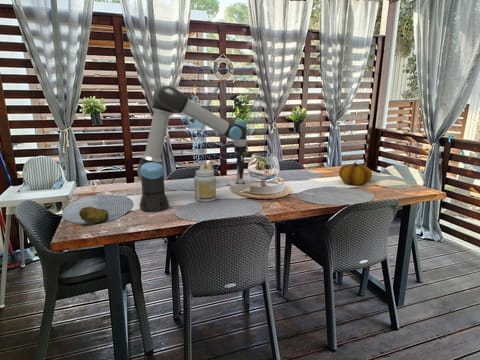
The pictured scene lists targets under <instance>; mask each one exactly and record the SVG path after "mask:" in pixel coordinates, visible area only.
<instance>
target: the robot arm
mask: <svg viewBox="0 0 480 360" xmlns="http://www.w3.org/2000/svg"><path fill="white" fill-rule="evenodd" d="M152 95H153V96H152V97H153V102H152V107H151V109H152V111H153V116H152V120H151V125H150V129H149V133H148V138H147V143H146V145H145V146H146V147H145V150H144V155H141V157H140V159H139V160H140V161H139V164H138V165H137V170H136V172H137V176H138V178H139V179H140V183H141V198H140V202H139V209H140V210H141V211H142V212H149V213H152V212H154V213H155V212H161V211H164V210H167V209H169V207H170V204H169V200H168V198H167V195H166V192H165V191H166V190H165V176H164V175H165V170H164V166H163V165H162V164H163V160H162V158H161V155H162V152H163V147H164V142H165V137H166V134H167V128H168V125H169V121H170V118H171V116H173V115H174V112H176V113H178V114H184V115H186V116H188V117H190V118H191V119H193V120H195V121H197V122H198V123H200V124H202V125H204V126H206V127H208V128H210V129H212V130H214V133H215V136H216V137H217V138H223V137H224V138H227V139H230V140H231V141H233V144H234V147H233V148H234V149H233V152H235V153H236V167H237V166H239V172H238V183H243V180H244V172H245V170H244V169H245V168H244V164H245V163H244V162H245V155H244V153H246V152H247V142H248V139H247V133H248V132H247V131H248V124H247V120H244V119H235V120H234V121H233V123H230V122H228V121H227V120H225V119H224V118H222V117H220V116H218V115H216V114H215V113H213V112H212V111H209V110H207V109H206V108H204V107H203V106H201V105H199V104H197V103H196V102H193V100H191V99H190V98H189V96H187V95H186V94H184V93H183V92H181V91H180V90H179V89H177V88H176V87H174V86H171V85H162V86H158V87H157V88H156V89H155V90H154V93H153V94H152Z"/></svg>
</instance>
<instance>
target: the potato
mask: <svg viewBox="0 0 480 360" xmlns="http://www.w3.org/2000/svg"><path fill="white" fill-rule="evenodd" d="M78 215H79V216H80V220H82V221H84V222H89V223H96V224H97V223H101V222H104V221H105V220H107V219H108V217H109V211H108V210H106V209H103V208H97V207H95V206H84V207H83V208H81V209H80V210H79V211H78Z"/></svg>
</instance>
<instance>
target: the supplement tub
mask: <svg viewBox="0 0 480 360" xmlns="http://www.w3.org/2000/svg"><path fill="white" fill-rule="evenodd" d="M199 169H200V168H199ZM199 169H197V170H195V175H194V177H193V179H194V183H193V184H194V199H195V200H196V201H197V202H201V203H209V202H212V201H215V200H216V198H217V191H216V190H217V188H216V187H217V186H216V182H217V181H216V180H217V179H216V175H214V174H215V170H211V169H200V170H199Z"/></svg>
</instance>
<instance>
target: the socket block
mask: <svg viewBox="0 0 480 360" xmlns="http://www.w3.org/2000/svg"><path fill="white" fill-rule="evenodd" d="M249 187H251V188H252V184H251V183H250V181H249V180H247V179H243V184H237V180H229V189H230V191H231V193H232V194H235V193H236V192H240V191H243V190H245V189H247V188H249ZM240 193H241V192H240Z"/></svg>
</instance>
